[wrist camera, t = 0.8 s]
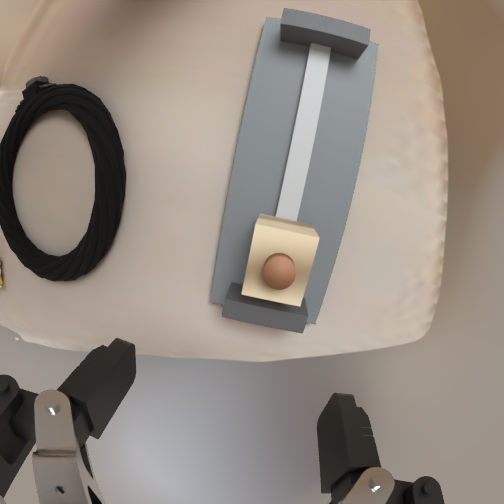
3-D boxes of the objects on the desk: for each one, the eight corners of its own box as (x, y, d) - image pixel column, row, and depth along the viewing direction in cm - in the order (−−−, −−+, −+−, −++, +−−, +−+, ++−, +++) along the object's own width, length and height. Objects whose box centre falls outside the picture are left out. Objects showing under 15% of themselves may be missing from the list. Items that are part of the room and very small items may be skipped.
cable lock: (14, 291, 32) (-16, 120, 24) (28, 282, 36) (-1, 120, 28) (141, 275, 28) (102, 29, 20) (155, 264, 32) (118, 38, 24)
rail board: (266, 23, 22) (263, -2, 17) (374, 48, 22) (390, 29, 17) (212, 296, 32) (200, 320, 27) (313, 317, 32) (318, 344, 26)
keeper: (259, 213, 26) (253, 228, 20) (312, 224, 26) (322, 243, 19) (247, 272, 28) (238, 303, 21) (297, 282, 27) (301, 316, 21)
